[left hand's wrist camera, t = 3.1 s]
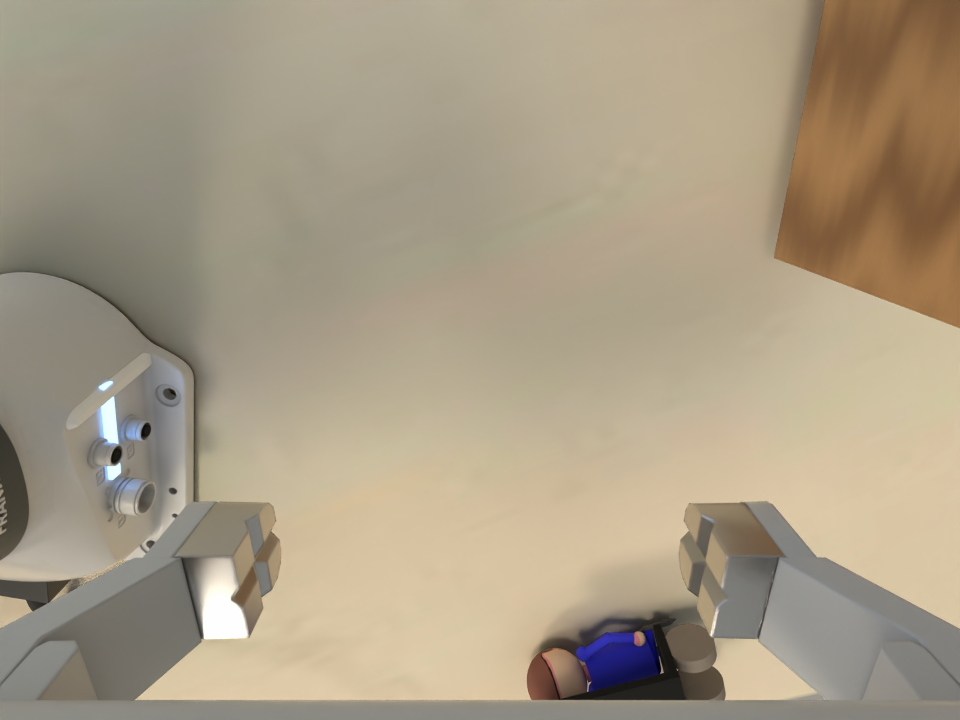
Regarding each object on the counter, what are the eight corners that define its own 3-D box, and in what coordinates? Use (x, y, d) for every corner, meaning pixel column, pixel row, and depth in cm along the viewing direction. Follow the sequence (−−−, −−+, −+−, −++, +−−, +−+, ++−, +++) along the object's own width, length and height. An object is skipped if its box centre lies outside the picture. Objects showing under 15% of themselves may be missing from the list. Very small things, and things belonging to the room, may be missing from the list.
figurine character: (681, 581, 45) (512, 638, 45) (730, 658, 38) (529, 724, 38) (694, 638, 48) (533, 692, 48) (742, 720, 41) (553, 783, 41)
